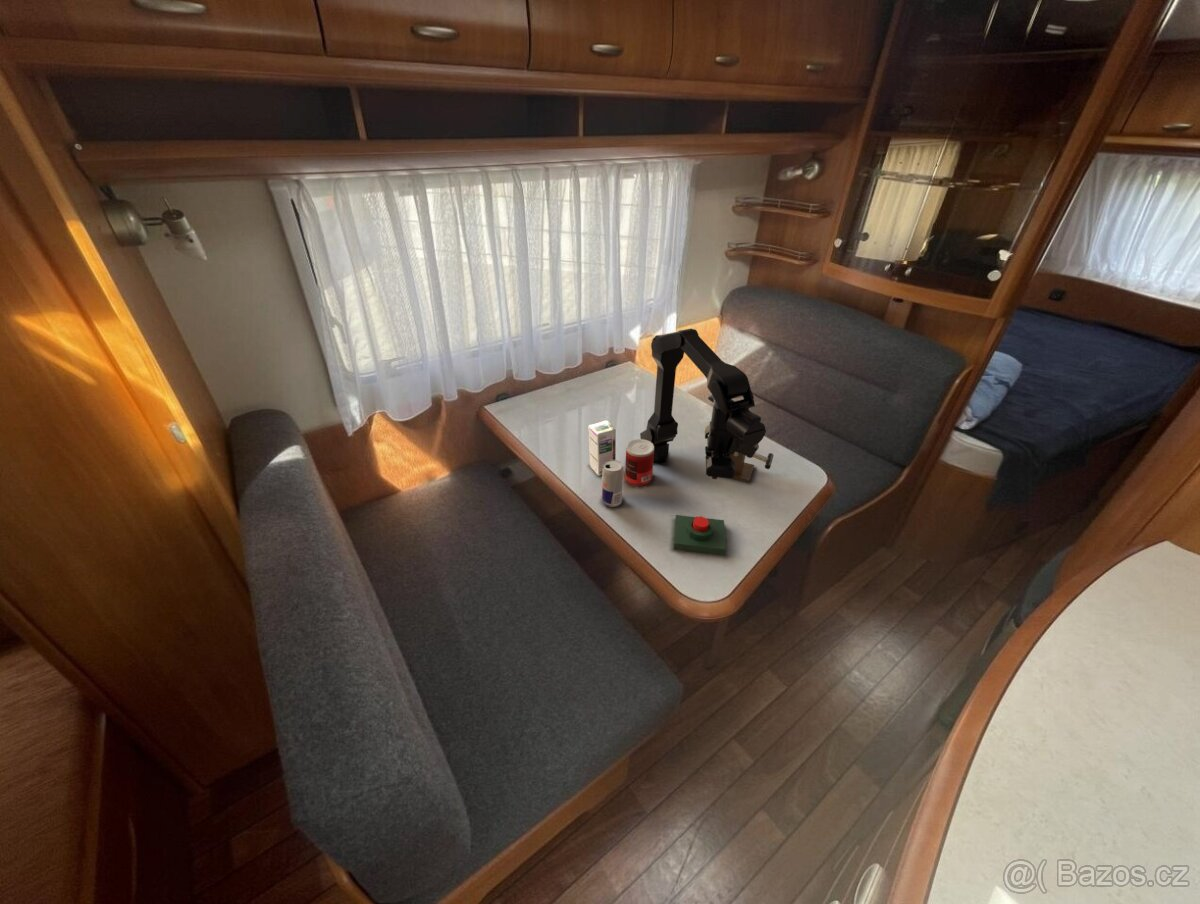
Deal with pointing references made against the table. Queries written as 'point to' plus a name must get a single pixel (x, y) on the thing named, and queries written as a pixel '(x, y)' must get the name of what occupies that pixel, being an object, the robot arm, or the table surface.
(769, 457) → the lever
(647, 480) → the canned food
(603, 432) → the syrup box
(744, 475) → the bracket
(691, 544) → the button box
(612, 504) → the energy drink
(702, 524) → the button
